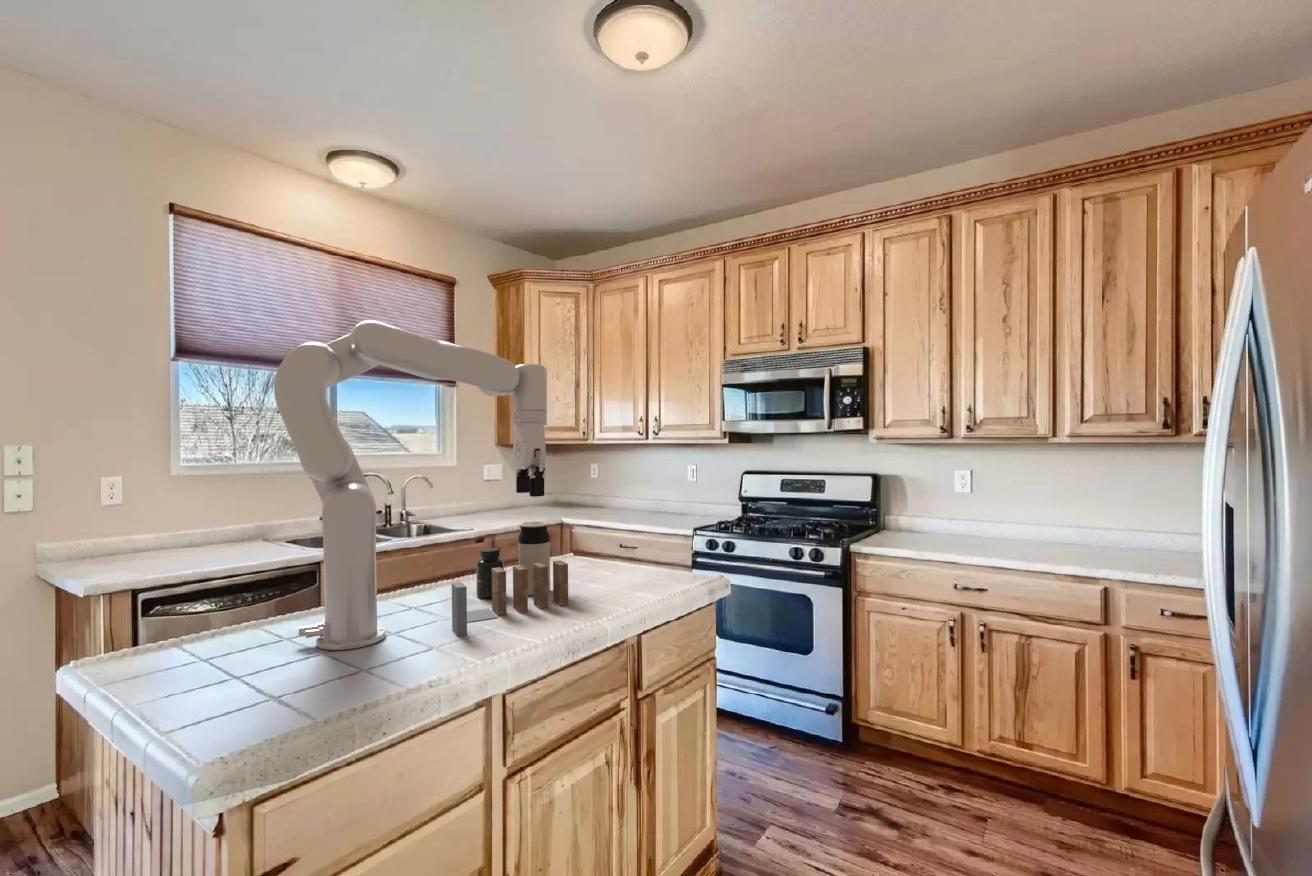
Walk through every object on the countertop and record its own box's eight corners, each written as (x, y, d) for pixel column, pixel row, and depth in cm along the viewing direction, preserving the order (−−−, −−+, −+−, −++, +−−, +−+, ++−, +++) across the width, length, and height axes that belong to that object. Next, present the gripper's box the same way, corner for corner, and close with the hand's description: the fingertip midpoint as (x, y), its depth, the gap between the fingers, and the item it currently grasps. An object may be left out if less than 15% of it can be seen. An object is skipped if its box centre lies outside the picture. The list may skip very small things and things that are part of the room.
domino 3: (519, 612, 145) (518, 569, 145) (513, 607, 149) (512, 565, 149) (527, 611, 146) (527, 568, 146) (521, 606, 150) (521, 564, 150)
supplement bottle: (471, 598, 158) (470, 551, 158) (486, 591, 164) (485, 546, 164) (495, 600, 156) (494, 552, 156) (509, 593, 162) (508, 547, 162)
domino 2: (497, 616, 142) (497, 572, 142) (492, 610, 147) (491, 568, 147) (506, 614, 143) (506, 571, 143) (500, 609, 148) (500, 567, 147)
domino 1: (457, 636, 128) (456, 587, 128) (452, 630, 133) (451, 582, 132) (467, 635, 129) (466, 586, 129) (461, 628, 134) (461, 581, 133)
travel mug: (542, 596, 159) (541, 525, 158) (513, 595, 161) (512, 525, 160) (554, 589, 166) (554, 521, 166) (527, 587, 168) (526, 520, 168)
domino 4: (540, 609, 147) (539, 567, 147) (533, 604, 151) (533, 563, 151) (548, 608, 148) (547, 566, 148) (541, 603, 152) (541, 562, 152)
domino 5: (560, 606, 150) (560, 564, 149) (553, 601, 154) (552, 561, 154) (568, 605, 150) (567, 563, 150) (561, 600, 155) (560, 560, 155)
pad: (465, 622, 137) (465, 622, 137) (458, 613, 144) (458, 612, 144) (497, 618, 141) (497, 617, 141) (488, 609, 148) (488, 608, 148)
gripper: (503, 419, 148) (502, 492, 148) (525, 417, 133) (525, 498, 133) (533, 420, 152) (533, 490, 152) (559, 418, 136) (559, 497, 137)
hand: (529, 494), depth 142 cm, fingers open, 9 cm apart
